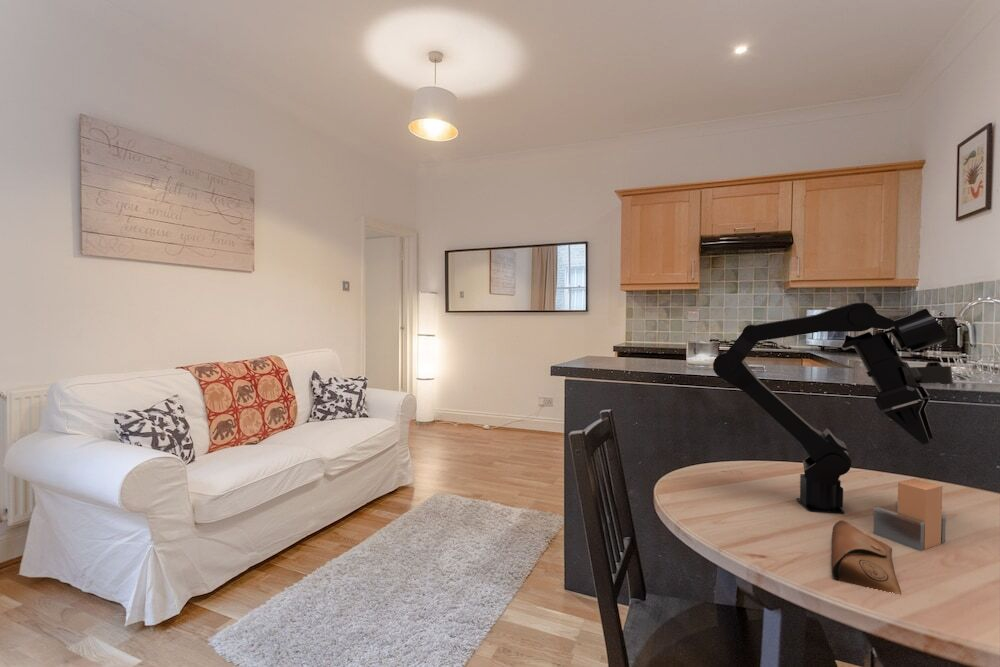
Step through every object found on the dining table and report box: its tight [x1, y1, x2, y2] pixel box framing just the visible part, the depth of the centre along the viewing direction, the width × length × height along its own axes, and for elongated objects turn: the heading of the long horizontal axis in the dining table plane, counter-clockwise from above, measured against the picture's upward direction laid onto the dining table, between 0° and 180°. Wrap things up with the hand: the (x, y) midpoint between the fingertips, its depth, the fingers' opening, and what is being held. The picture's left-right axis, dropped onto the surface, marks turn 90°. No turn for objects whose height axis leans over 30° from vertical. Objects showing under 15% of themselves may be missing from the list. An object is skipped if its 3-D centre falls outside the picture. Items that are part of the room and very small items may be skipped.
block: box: [897, 478, 943, 550], centre depth 83 cm, size 4×5×10 cm
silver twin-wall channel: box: [872, 500, 947, 552], centre depth 84 cm, size 7×8×5 cm
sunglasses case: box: [831, 520, 902, 596], centre depth 77 cm, size 18×7×7 cm
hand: (928, 441), depth 87 cm, fingers open, 9 cm apart
